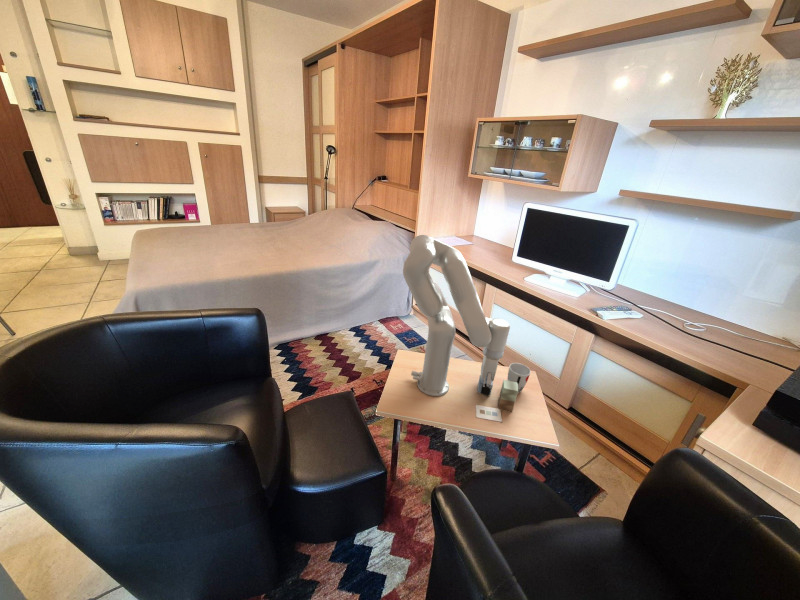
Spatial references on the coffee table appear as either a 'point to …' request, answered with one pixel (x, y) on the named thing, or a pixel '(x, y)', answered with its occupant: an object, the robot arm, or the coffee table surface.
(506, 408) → the tower base
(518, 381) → the cup
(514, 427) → the coffee table surface
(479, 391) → the blue brick
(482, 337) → the robot arm
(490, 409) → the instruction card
